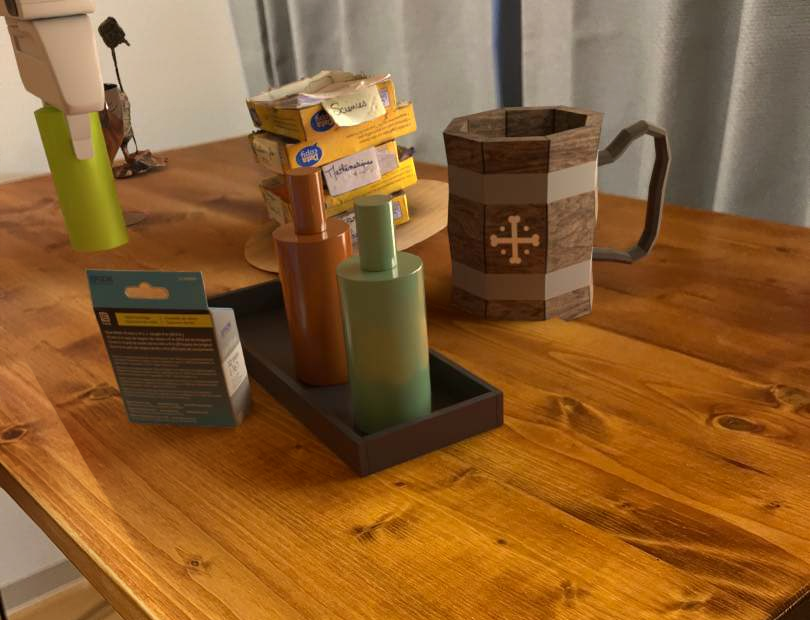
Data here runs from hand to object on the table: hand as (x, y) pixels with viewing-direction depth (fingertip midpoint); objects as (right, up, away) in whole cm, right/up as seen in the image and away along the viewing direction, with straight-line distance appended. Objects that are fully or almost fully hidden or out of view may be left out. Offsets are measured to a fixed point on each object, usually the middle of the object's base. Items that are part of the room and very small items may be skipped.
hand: (76, 151), depth 87 cm
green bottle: (+32, -30, -25) cm, 51 cm away
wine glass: (-4, +2, +24) cm, 24 cm away
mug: (+47, -17, -7) cm, 50 cm away
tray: (+27, -26, -18) cm, 42 cm away
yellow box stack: (+27, -5, +10) cm, 30 cm away
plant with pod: (-8, +17, +45) cm, 48 cm away
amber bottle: (+27, -25, -18) cm, 41 cm away
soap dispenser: (0, -7, +5) cm, 9 cm away
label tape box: (+17, -30, -22) cm, 41 cm away
